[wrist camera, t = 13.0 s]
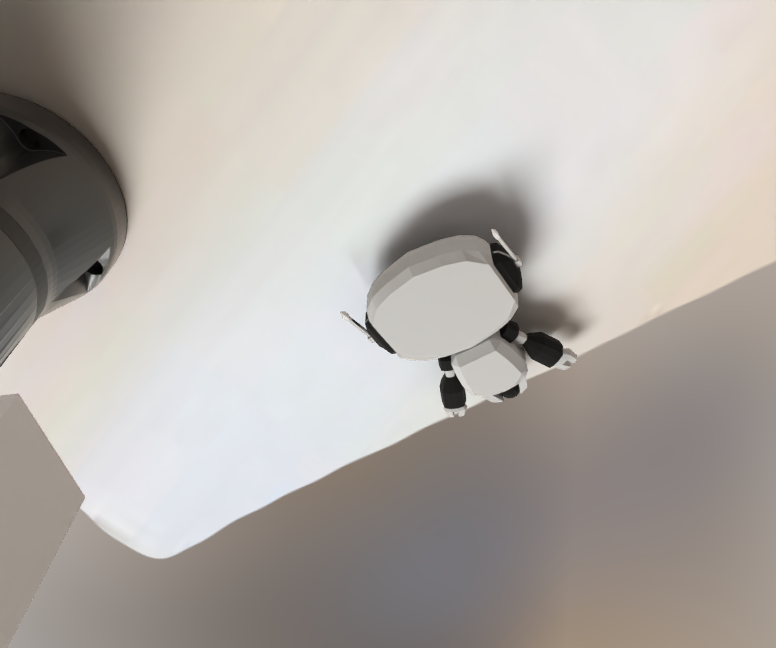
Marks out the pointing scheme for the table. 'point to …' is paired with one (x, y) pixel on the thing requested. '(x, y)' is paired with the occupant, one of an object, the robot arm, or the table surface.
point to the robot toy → (459, 318)
